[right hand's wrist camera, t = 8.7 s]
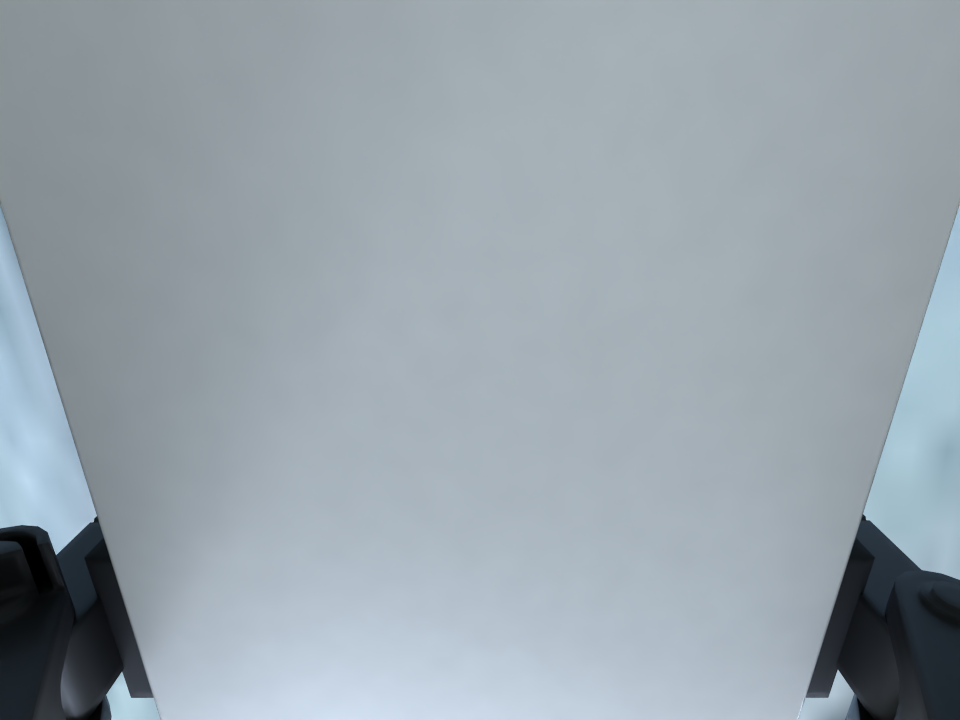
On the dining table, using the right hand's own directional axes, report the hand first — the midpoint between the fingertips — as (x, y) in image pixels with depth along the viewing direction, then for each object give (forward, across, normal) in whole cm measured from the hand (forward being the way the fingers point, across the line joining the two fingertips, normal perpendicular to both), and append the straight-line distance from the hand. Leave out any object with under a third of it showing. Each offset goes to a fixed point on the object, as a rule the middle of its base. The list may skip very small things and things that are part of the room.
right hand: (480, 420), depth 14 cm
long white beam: (+1, 0, -32) cm, 33 cm away
